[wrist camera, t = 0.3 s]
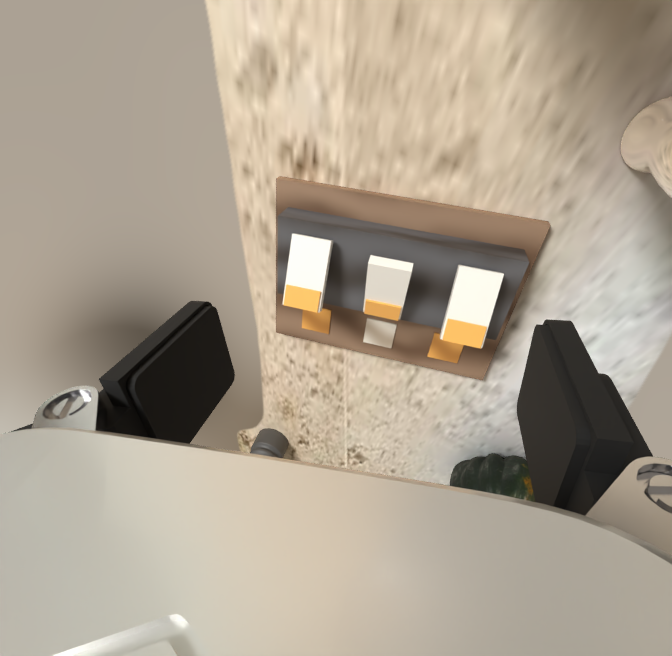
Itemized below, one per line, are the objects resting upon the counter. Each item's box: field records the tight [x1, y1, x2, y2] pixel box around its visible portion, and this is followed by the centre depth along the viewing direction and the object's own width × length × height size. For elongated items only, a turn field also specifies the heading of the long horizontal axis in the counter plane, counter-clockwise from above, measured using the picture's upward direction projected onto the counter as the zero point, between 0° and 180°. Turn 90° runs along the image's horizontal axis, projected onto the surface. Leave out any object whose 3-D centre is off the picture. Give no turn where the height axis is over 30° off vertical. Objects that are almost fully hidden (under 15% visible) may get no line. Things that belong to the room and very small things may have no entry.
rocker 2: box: [363, 255, 413, 321], centre depth 41 cm, size 8×4×2 cm, turn 174°
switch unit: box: [276, 176, 550, 380], centre depth 46 cm, size 22×30×6 cm
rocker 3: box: [440, 265, 504, 349], centre depth 40 cm, size 8×4×2 cm, turn 175°
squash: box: [450, 453, 535, 502], centre depth 58 cm, size 14×15×15 cm
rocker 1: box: [283, 234, 333, 312], centre depth 43 cm, size 8×4×1 cm, turn 175°
